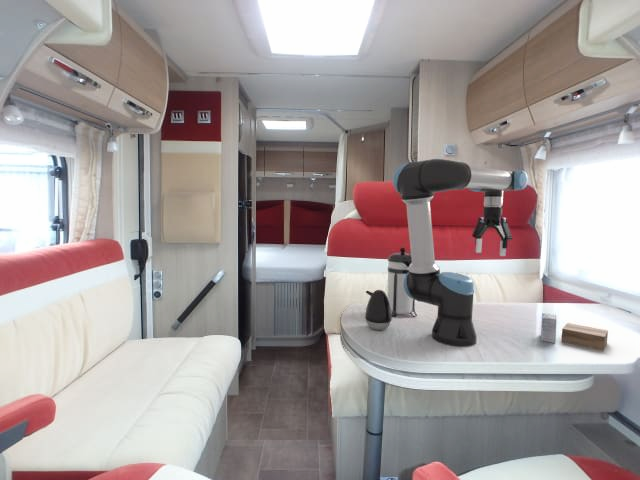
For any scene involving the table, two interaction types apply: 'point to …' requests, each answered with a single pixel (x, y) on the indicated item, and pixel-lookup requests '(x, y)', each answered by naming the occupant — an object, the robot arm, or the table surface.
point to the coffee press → (399, 284)
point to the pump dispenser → (378, 310)
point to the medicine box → (548, 328)
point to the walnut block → (584, 336)
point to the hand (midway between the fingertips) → (489, 254)
